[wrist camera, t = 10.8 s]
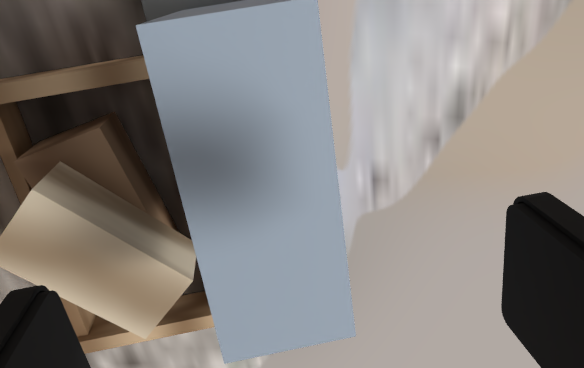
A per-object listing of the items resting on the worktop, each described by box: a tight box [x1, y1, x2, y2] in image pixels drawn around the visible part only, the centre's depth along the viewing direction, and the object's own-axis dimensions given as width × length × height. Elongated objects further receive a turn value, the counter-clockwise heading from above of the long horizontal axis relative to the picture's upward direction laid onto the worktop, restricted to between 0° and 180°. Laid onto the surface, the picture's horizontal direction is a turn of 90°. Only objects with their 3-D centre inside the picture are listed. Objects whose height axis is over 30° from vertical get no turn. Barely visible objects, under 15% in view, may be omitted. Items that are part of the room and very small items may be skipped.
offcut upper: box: [0, 161, 196, 339], centre depth 26 cm, size 5×9×4 cm, turn 51°
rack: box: [0, 55, 215, 354], centre depth 27 cm, size 18×18×8 cm
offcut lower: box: [14, 112, 180, 233], centre depth 29 cm, size 5×11×4 cm, turn 20°
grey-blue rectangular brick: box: [136, 0, 356, 364], centre depth 22 cm, size 5×12×15 cm, turn 8°
